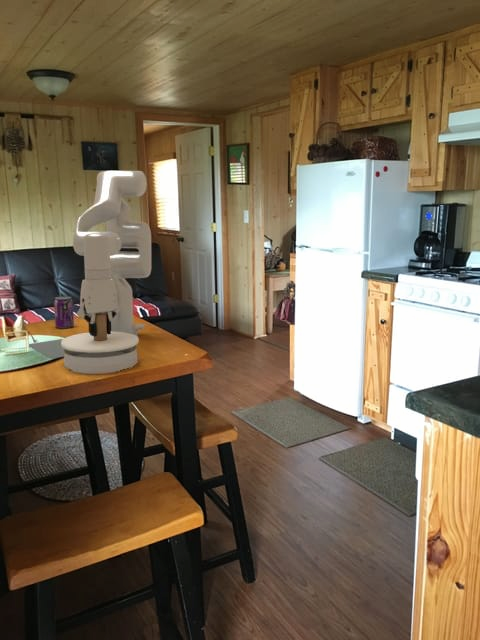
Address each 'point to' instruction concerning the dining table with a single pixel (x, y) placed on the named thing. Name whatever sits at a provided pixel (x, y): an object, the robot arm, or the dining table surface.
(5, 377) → the dining table surface
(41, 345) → the mat
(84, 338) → the lid
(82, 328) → the dining table surface
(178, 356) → the dining table surface
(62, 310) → the beverage can
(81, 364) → the dish
